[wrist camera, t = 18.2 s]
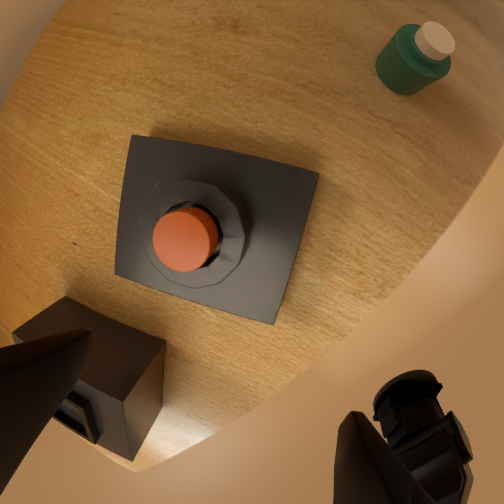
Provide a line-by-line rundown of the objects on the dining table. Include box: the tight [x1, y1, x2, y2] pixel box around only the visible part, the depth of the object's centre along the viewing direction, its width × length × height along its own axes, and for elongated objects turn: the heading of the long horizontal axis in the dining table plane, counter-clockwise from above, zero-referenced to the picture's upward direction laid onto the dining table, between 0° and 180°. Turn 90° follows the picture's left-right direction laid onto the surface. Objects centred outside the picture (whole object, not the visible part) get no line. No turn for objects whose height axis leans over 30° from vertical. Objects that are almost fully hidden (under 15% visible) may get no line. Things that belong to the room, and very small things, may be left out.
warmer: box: [12, 296, 166, 461], centre depth 20 cm, size 12×10×9 cm
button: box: [153, 207, 219, 272], centre depth 15 cm, size 3×3×2 cm
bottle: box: [376, 21, 456, 95], centre depth 11 cm, size 4×4×6 cm
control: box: [115, 135, 319, 325], centre depth 17 cm, size 12×10×4 cm
